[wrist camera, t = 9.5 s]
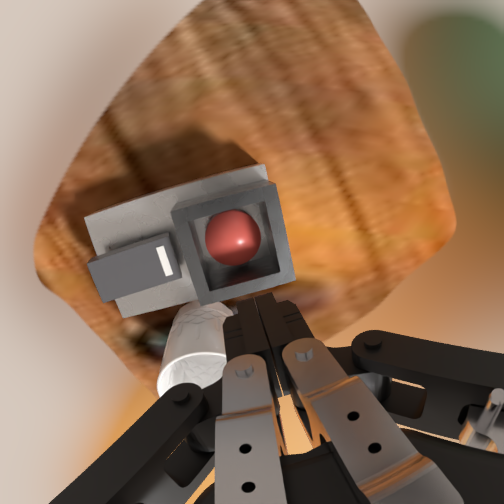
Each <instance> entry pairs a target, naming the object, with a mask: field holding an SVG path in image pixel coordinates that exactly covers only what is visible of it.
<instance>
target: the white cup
mask: <svg viewBox="0 0 504 504" xmlns="http://www.w3.org/2000/svg"><path fill="white" fill-rule="evenodd" d="M232 315H233V312H232V311H231V310H230V309H229V308H227V307H226V306H225V305H224V304H222V303H221V302H216V303H212V304H208V305H204V306H200V303H199V300H194V301H191V302H189V303H188V304H186V305H184V306H183V307H181V308H180V309H179V311H178V313H177V315H176V316H175V318H174V320H173V324H172V328H171V330H170V333H169V336H168V340H167V343H166V346H165V350H164V354H163V359H162V363H161V367H160V371H159V375H158V380H157V391H158V394H159V397H161V396H162V395H163V394H164V393H165V392H166V391H167V390H168V389H170V388H171V387H173V386H175V385H177V384H181V383H194V384H197V385H198V386H200V387H201V389H203V388H205V387H207V386H209V385H211V384H213V383H215V382H216V381H218V380H219V379H220V378H221V377H222V374H223V369H224V367H225V365H226V364H227V361H226V352H225V344H224V335H223V326H222V325H223V323H224V321H225V319H226V317H228V316H232Z"/></svg>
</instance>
